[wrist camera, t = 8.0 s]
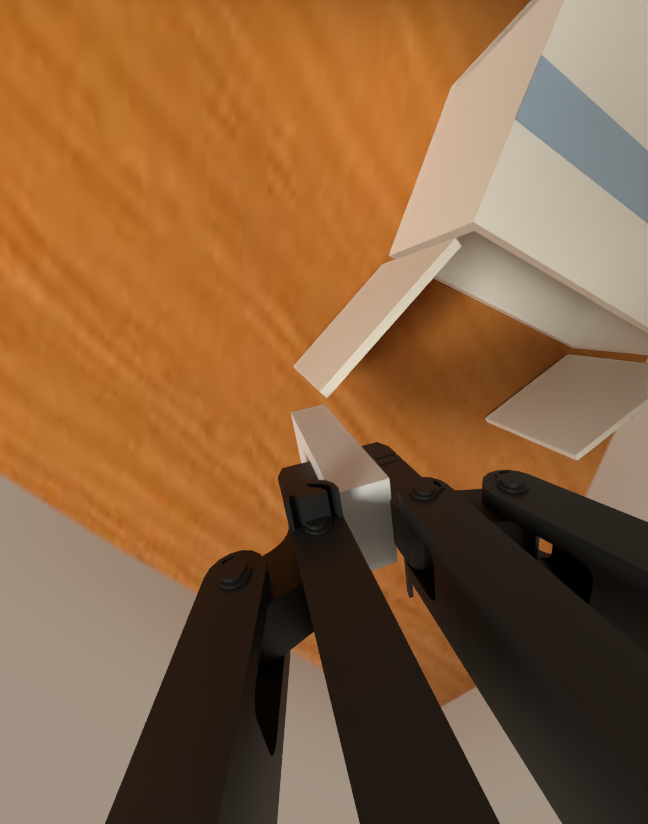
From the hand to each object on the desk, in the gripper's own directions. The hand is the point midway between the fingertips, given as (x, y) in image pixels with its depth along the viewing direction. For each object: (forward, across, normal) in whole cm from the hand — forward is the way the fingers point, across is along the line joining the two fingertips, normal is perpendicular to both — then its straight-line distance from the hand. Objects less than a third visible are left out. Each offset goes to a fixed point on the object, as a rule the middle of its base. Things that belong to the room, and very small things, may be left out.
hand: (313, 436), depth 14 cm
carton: (+11, +21, +7) cm, 25 cm away
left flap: (+10, +5, +4) cm, 12 cm away
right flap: (+10, +22, -5) cm, 25 cm away
